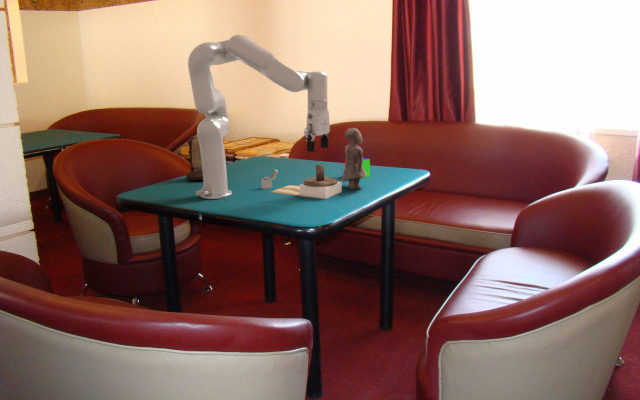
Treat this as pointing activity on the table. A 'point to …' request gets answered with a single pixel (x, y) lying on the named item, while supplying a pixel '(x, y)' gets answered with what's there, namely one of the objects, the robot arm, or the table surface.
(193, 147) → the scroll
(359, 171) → the clay figurine
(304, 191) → the dish
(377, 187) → the table surface
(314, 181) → the lid
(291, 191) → the mat
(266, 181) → the lighter
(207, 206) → the table surface
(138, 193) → the table surface
